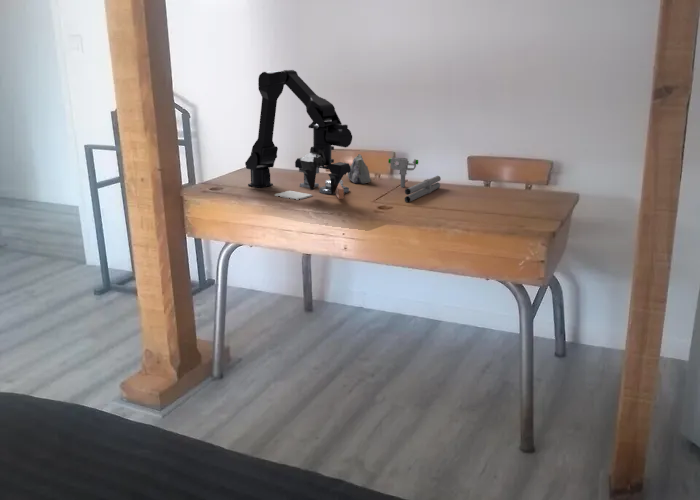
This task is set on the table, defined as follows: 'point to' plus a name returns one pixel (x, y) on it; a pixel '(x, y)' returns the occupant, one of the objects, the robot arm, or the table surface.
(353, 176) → the mineral rock
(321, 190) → the chuck base
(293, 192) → the mat
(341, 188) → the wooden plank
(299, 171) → the grey stepped block
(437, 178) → the metal rod assembly
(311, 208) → the table surface
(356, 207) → the table surface
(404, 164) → the mechanical component
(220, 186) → the table surface
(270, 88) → the robot arm
